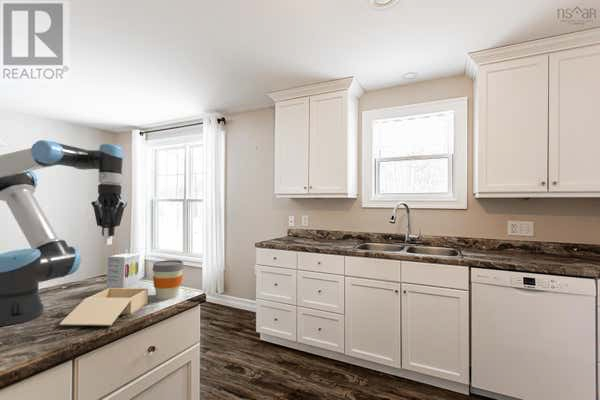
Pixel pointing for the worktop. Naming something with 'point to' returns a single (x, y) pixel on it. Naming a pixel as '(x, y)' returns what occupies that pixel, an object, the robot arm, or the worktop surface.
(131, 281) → the supplement box
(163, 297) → the reusable coffee cup
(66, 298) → the worktop surface
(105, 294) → the mailer
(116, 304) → the lid
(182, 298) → the worktop surface
